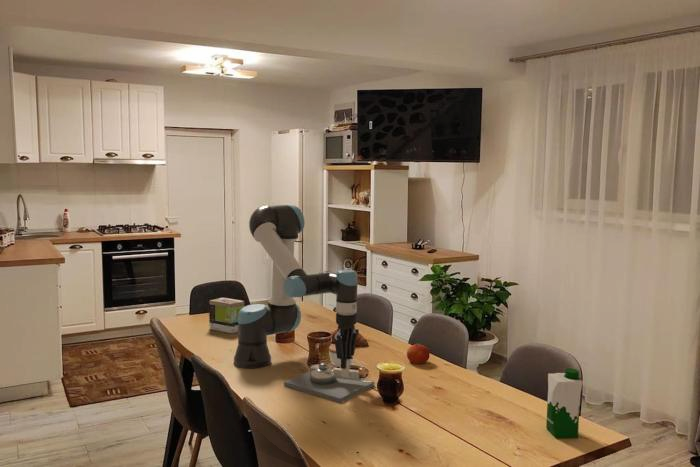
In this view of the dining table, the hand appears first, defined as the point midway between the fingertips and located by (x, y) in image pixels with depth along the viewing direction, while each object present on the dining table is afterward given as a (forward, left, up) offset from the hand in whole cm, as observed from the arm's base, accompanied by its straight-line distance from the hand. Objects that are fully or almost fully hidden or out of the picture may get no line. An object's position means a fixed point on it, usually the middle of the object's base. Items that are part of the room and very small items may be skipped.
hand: (345, 376), depth 218 cm
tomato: (+6, +44, -5) cm, 45 cm away
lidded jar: (-16, +20, -5) cm, 26 cm away
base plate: (-6, -1, -5) cm, 8 cm away
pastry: (-34, +48, -5) cm, 59 cm away
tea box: (-93, +28, -5) cm, 98 cm away
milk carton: (+75, +12, -5) cm, 76 cm away
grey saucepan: (-4, +1, -3) cm, 5 cm away
